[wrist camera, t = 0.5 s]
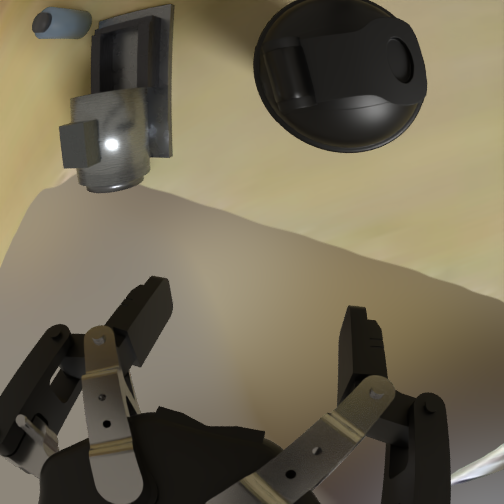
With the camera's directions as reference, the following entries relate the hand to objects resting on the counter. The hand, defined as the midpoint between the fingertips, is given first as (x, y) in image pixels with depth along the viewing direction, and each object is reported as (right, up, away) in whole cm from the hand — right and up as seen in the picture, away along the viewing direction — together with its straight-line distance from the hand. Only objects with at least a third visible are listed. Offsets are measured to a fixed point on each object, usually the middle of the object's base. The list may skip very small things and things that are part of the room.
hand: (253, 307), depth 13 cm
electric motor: (-16, +25, +22) cm, 37 cm away
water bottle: (+9, +22, +18) cm, 30 cm away
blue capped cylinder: (-27, +38, +17) cm, 49 cm away
